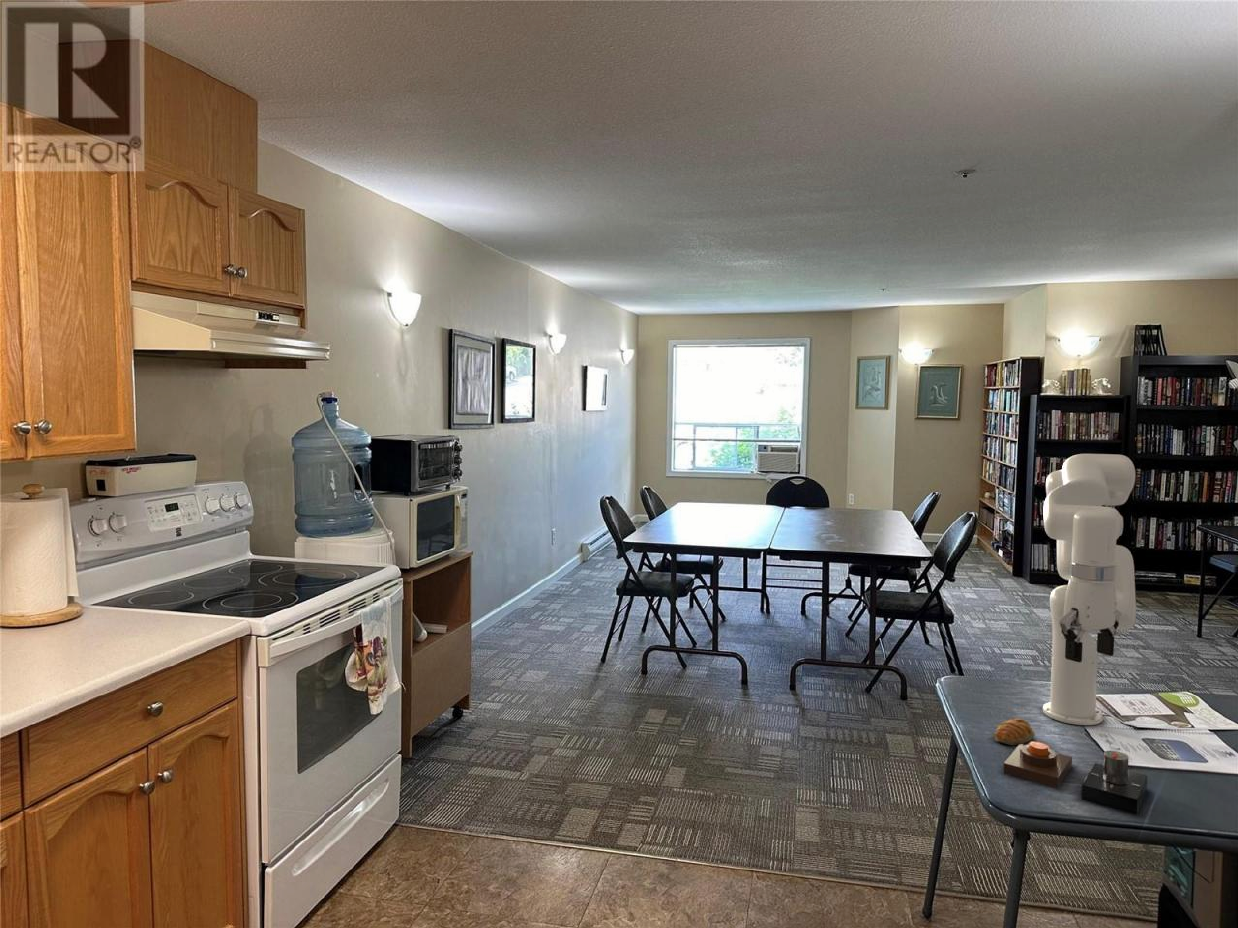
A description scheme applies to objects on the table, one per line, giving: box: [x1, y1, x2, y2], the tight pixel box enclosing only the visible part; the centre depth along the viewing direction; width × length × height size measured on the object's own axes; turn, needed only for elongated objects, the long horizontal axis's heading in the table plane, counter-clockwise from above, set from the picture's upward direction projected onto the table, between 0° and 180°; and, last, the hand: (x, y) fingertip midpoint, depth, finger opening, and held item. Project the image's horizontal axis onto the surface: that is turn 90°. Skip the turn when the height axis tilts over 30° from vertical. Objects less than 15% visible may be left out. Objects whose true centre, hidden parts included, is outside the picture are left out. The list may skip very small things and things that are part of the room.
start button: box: [1028, 741, 1050, 756], centre depth 167 cm, size 4×4×2 cm
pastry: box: [994, 718, 1036, 746], centre depth 182 cm, size 9×7×4 cm
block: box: [1003, 743, 1073, 789], centre depth 168 cm, size 12×10×4 cm
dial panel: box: [1081, 762, 1149, 816], centre depth 157 cm, size 12×9×3 cm
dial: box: [1103, 750, 1130, 785], centre depth 157 cm, size 4×4×5 cm
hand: (1089, 657), depth 163 cm, fingers open, 9 cm apart
